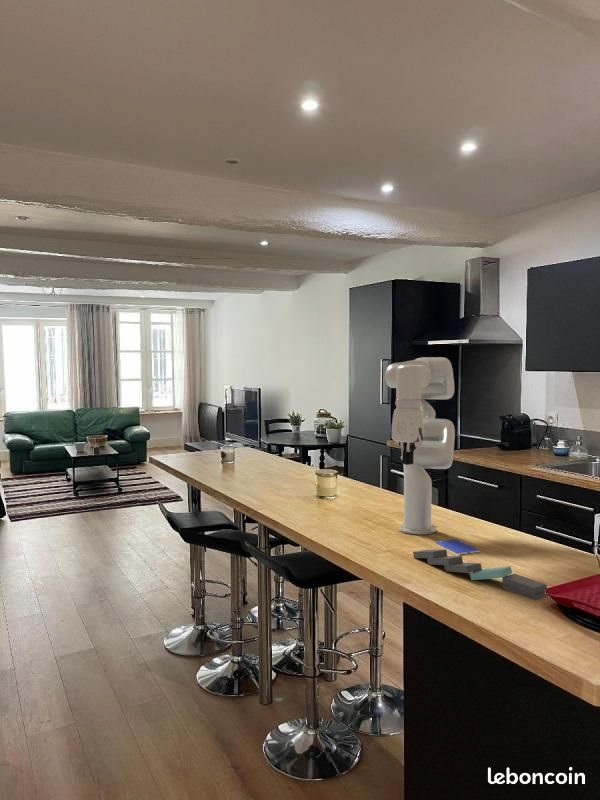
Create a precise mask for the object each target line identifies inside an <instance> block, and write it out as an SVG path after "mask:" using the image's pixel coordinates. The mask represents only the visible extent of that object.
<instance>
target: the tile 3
mask: <svg viewBox="0 0 600 800" xmlns="http://www.w3.org/2000/svg"><path fill="white" fill-rule="evenodd" d="M443 567H444V568H443V570H444V571H445V570H446V571H445V572H450V573H451V572H452V573H465V574H468V573H469V574H470V573H472V572H475V571H480V570H482V569H483V567H482V563H480V562H463V563H459V564H453V565H443Z"/></svg>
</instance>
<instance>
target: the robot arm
mask: <svg viewBox="0 0 600 800" xmlns="http://www.w3.org/2000/svg"><path fill="white" fill-rule="evenodd" d="M452 365H453V364H452V363H451V361H450V360H449V359H448V358H446V357H441V356H438V357H436V356H435V357H433V356H431V357H430V356H429V357H427V356H426V357H424V356H422V357H419V358H418V357H417V358H415V359H413V360H406V361H403V362H401V361H400V362H394V363H391V364H389V365H388V366H387V368H386V370H385V374H384V379H385V383H386V385H387V386H388V387H389V388H391V389H396V392H395V394H396V395H395V396H396V397H395V398H396V399H395V402H394V403H395V406H396V408H395V409H394V411H393V414H392V422H391V439H392V440H393V441H394V443H395V444H396V445H397V446H399V448H400V451H401V458H402V459H401V460H402V461H401V462H402V465H403V523H401V524H400V525H398V528H399V531H400V532H402V533H406V534H409V535H421V536H422V535H431V534H433V533H436V529H437V528H436V526H434V525H433V524H432V493H433V492H432V490H433V489H432V486H433V485H432V484H433V482H432V478H431V476H430V475H429V474H428V472H427V471H426V470H425V469H434V470H447V469H449V468H451V466H452V465H453V460H454V451H455V450H454V449H455V438H456V433H455V432H456V430H455V425H454V423H453V421H451V420H450V419H447V418H436V410H435V409H434V407H433V406H432V405H431V404H430V403H429V402H428V401H426V400H450V399H451V398H453V397H454V394H455V380H454V379H455V378H454V370H453V367H452Z"/></svg>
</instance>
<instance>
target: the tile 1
mask: <svg viewBox="0 0 600 800" xmlns="http://www.w3.org/2000/svg"><path fill="white" fill-rule="evenodd" d="M447 551H448V550H446V549H444V548H442V549H423V550H417V551H412V553H413V554H412V555H413V559H427V558H437V557H443V556H448V552H447Z"/></svg>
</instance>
